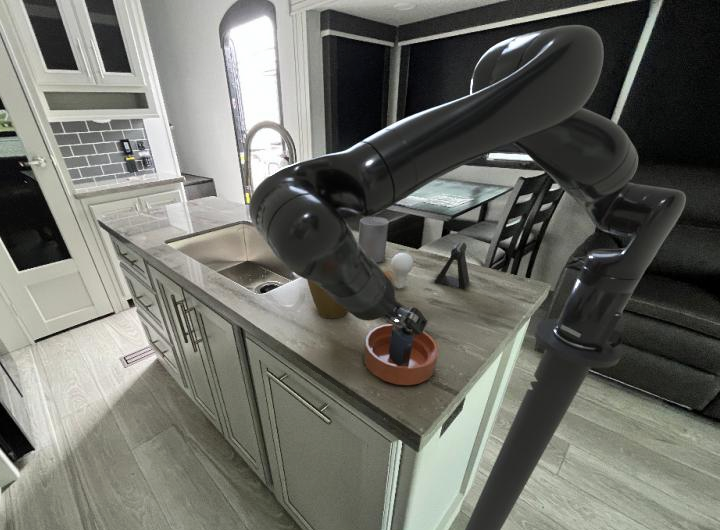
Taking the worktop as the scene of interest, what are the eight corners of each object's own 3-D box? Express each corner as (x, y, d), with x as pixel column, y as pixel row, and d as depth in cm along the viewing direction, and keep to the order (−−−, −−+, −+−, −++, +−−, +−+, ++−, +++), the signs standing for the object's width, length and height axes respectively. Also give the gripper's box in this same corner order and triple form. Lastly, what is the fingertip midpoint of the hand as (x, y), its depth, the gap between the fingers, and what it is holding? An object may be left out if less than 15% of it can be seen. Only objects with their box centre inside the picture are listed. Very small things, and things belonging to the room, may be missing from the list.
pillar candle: (360, 252, 120) (362, 211, 112) (386, 255, 117) (391, 214, 110) (354, 262, 112) (356, 219, 104) (382, 265, 109) (387, 222, 102)
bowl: (445, 361, 67) (450, 342, 65) (412, 400, 58) (416, 379, 56) (387, 334, 76) (389, 316, 73) (350, 364, 67) (351, 345, 64)
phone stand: (433, 282, 98) (441, 245, 92) (439, 275, 103) (446, 239, 97) (464, 290, 94) (474, 251, 88) (468, 282, 98) (478, 245, 92)
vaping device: (400, 370, 64) (408, 320, 58) (386, 354, 68) (392, 306, 62) (411, 366, 65) (420, 317, 59) (396, 351, 69) (403, 303, 63)
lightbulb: (410, 294, 92) (415, 258, 87) (388, 292, 93) (392, 256, 88) (408, 284, 97) (414, 250, 92) (388, 282, 98) (392, 248, 93)
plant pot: (299, 325, 79) (297, 265, 71) (309, 295, 92) (308, 242, 83) (360, 330, 77) (365, 269, 69) (362, 299, 90) (366, 245, 82)
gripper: (418, 277, 41) (441, 316, 54) (333, 249, 49) (370, 289, 62) (391, 329, 40) (421, 356, 53) (309, 292, 49) (352, 323, 62)
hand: (393, 320), depth 58 cm, fingers open, 8 cm apart
